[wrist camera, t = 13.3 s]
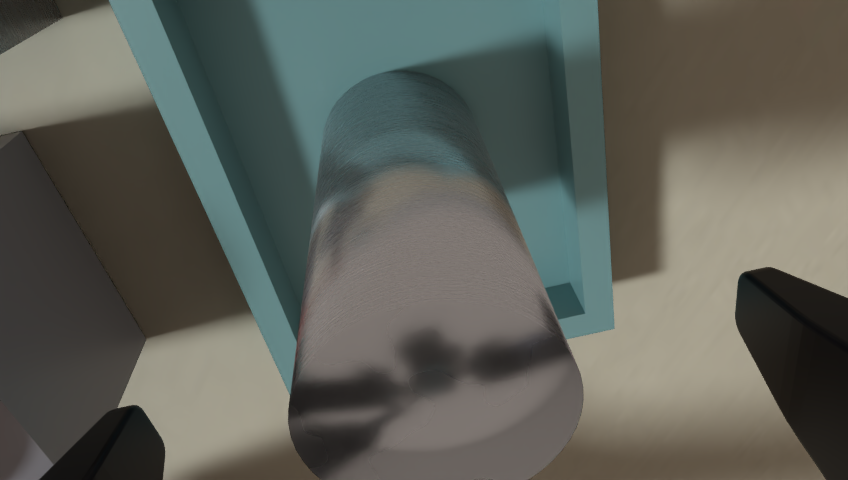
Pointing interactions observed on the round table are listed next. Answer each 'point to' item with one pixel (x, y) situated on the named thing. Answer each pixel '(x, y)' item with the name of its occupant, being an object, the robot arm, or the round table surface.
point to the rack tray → (345, 67)
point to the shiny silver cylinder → (423, 303)
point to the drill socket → (24, 20)
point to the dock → (52, 322)
